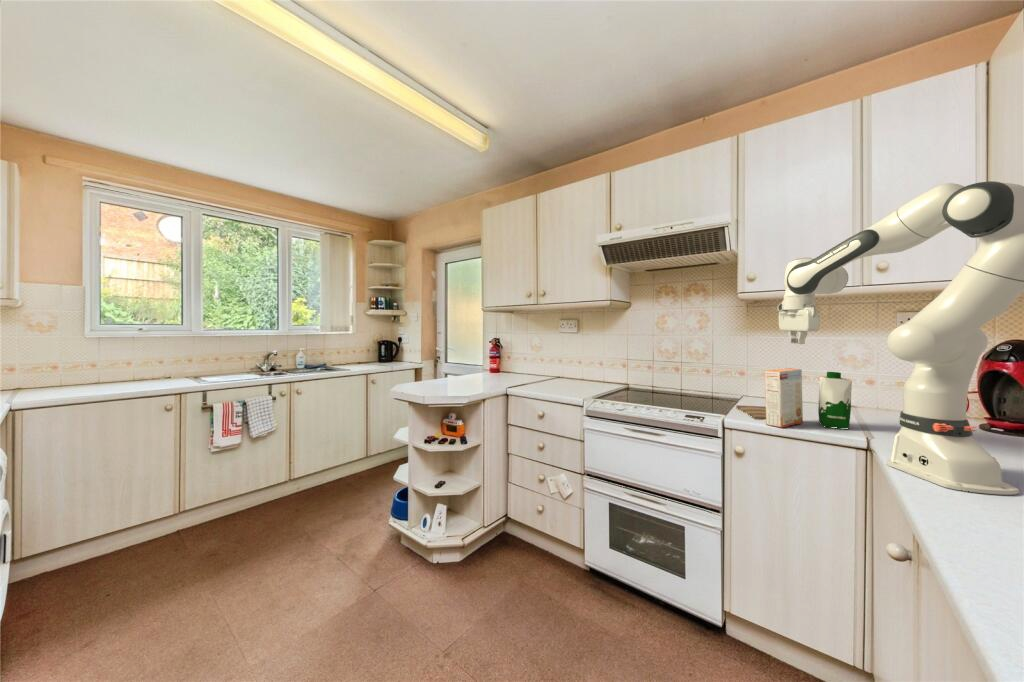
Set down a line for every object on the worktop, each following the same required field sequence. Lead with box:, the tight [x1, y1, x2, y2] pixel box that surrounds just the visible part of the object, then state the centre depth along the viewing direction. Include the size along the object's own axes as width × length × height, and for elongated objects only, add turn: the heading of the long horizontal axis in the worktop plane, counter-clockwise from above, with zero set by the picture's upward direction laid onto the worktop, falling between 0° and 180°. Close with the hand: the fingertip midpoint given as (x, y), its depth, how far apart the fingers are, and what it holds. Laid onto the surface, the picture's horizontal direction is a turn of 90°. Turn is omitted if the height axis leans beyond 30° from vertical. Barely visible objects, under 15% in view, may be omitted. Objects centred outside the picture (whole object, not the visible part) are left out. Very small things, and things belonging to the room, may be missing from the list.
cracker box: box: [764, 367, 804, 429], centre depth 142 cm, size 14×6×21 cm, turn 115°
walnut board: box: [735, 405, 766, 420], centre depth 158 cm, size 20×16×1 cm
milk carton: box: [817, 371, 853, 430], centre depth 138 cm, size 9×9×20 cm
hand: (797, 343), depth 134 cm, fingers open, 3 cm apart
